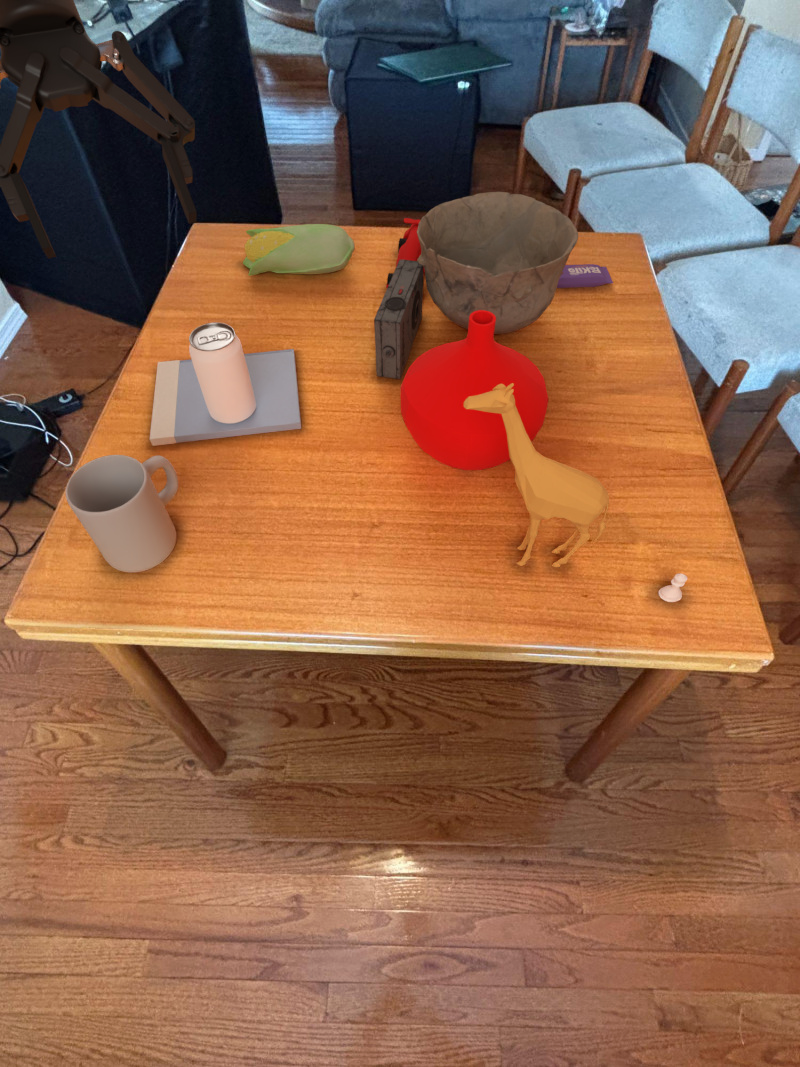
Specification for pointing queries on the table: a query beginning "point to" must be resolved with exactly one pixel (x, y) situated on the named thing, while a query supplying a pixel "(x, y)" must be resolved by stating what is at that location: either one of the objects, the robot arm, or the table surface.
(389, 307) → the camera
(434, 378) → the vase
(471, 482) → the table surface
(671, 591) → the chess pawn
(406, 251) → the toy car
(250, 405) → the can
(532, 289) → the bowl
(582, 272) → the snack package
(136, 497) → the mug
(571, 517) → the giraffe
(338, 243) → the corn
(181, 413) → the blue flat rectangular slab
